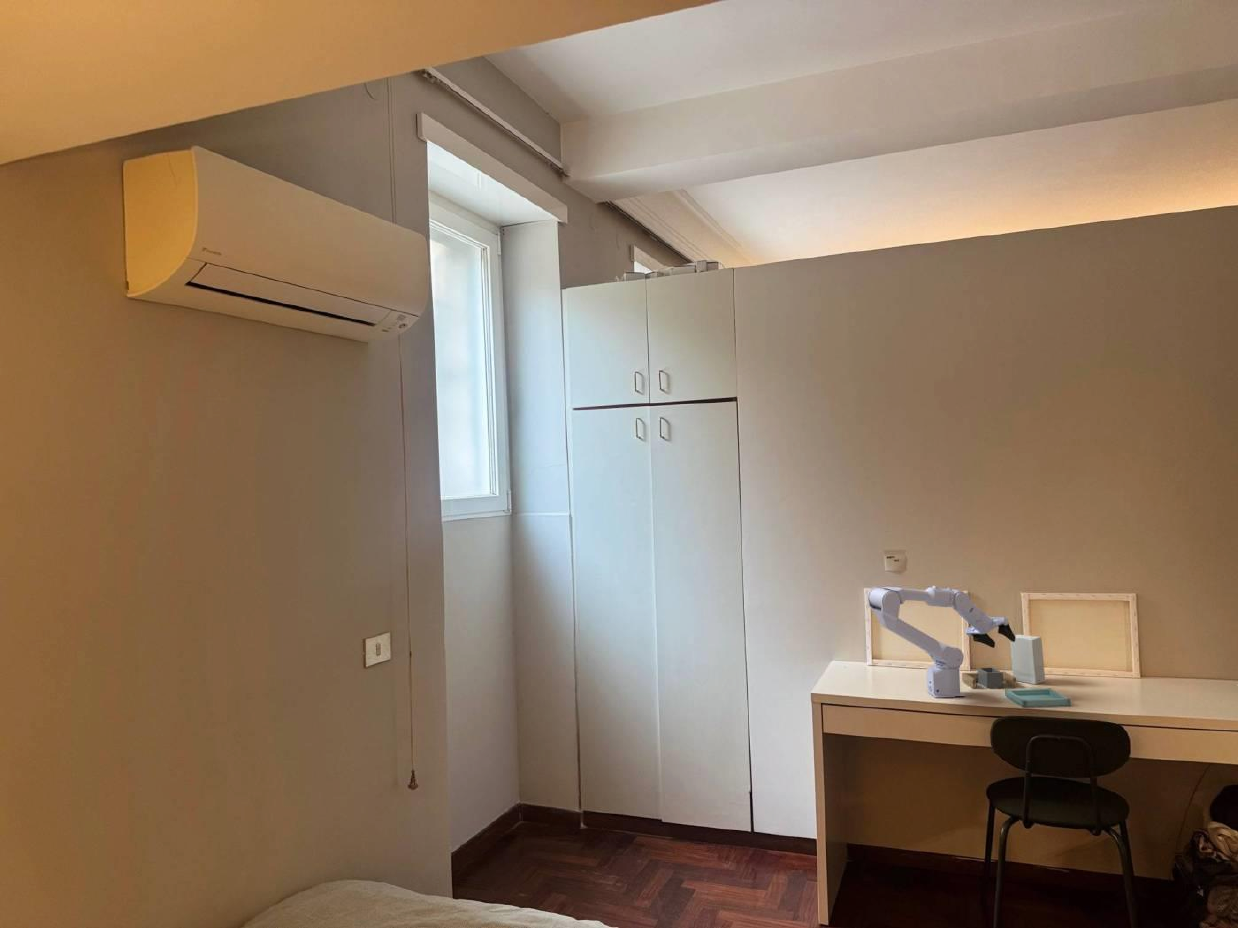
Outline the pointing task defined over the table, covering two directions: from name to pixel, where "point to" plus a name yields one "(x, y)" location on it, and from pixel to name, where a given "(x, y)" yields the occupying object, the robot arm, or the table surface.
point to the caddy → (990, 677)
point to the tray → (1037, 697)
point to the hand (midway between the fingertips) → (1004, 642)
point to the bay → (973, 678)
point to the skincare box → (1027, 659)
